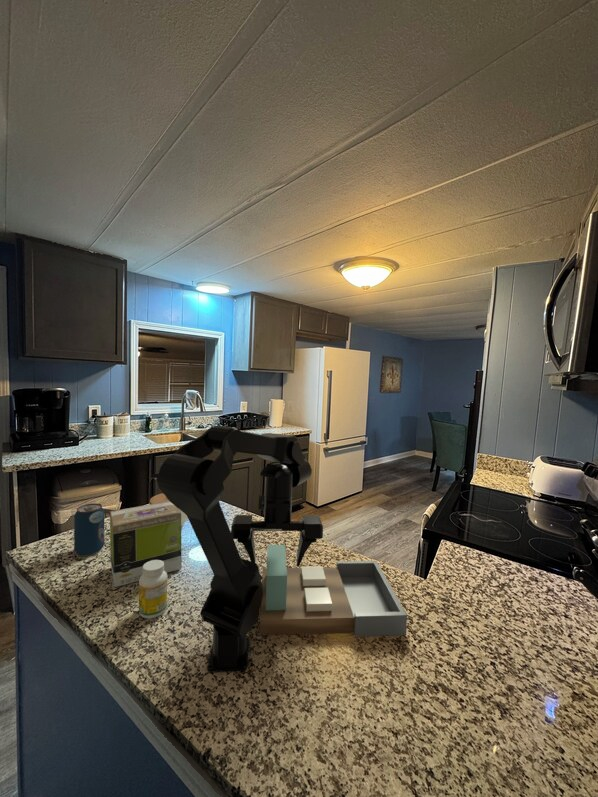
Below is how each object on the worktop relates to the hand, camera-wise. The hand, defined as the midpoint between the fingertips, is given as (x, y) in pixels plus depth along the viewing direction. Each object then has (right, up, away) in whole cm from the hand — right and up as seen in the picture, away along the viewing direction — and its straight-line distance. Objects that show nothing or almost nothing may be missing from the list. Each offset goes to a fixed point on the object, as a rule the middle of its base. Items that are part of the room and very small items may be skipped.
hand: (276, 565), depth 71 cm
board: (+6, -9, +1) cm, 10 cm away
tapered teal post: (0, -6, 0) cm, 6 cm away
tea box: (-33, -7, +12) cm, 36 cm away
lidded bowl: (-36, -5, +36) cm, 51 cm away
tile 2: (+9, -6, -3) cm, 11 cm away
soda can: (-52, -6, +20) cm, 56 cm away
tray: (+20, -9, +2) cm, 22 cm away
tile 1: (+8, -6, +5) cm, 11 cm away
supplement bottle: (-25, -8, -2) cm, 26 cm away
